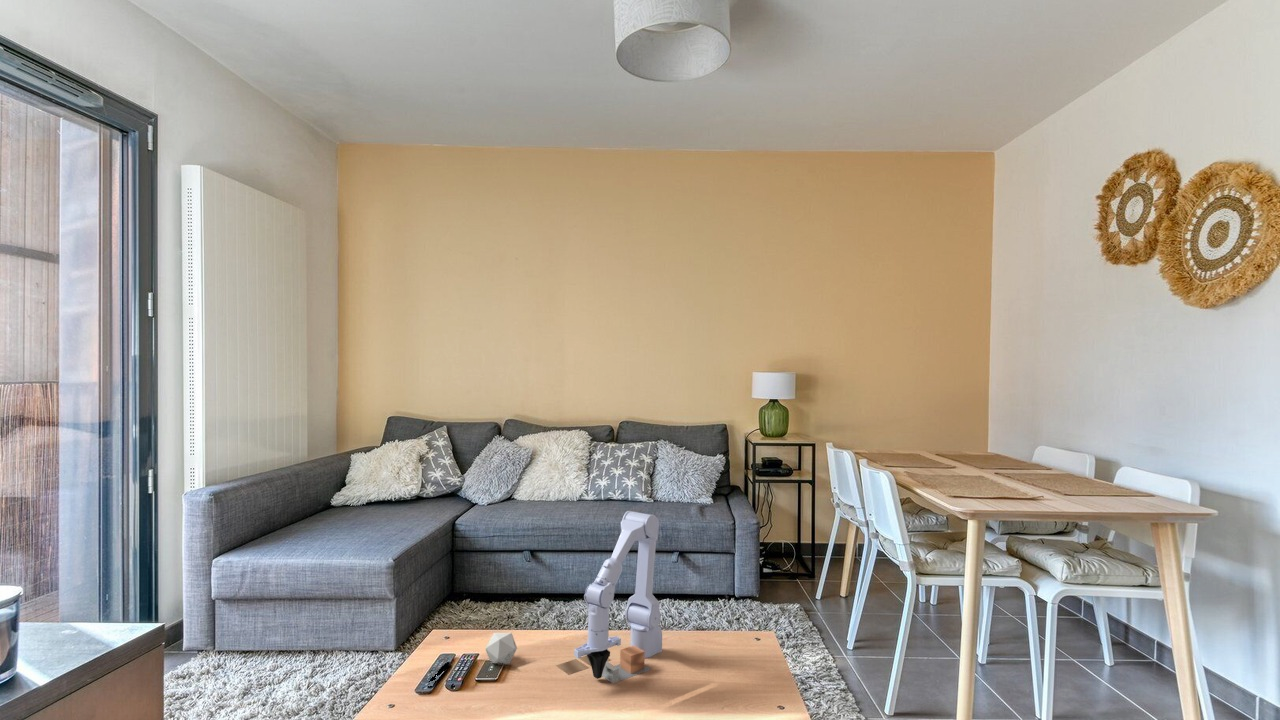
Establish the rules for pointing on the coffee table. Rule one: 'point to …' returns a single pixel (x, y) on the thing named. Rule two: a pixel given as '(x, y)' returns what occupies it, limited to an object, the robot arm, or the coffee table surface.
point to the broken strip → (575, 665)
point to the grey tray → (619, 673)
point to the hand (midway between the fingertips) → (597, 676)
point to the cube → (632, 659)
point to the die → (501, 648)
